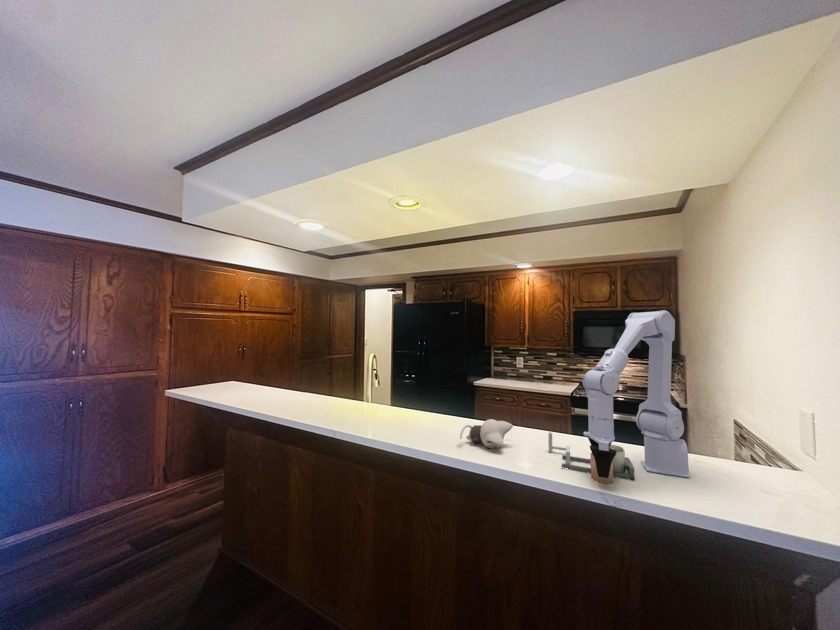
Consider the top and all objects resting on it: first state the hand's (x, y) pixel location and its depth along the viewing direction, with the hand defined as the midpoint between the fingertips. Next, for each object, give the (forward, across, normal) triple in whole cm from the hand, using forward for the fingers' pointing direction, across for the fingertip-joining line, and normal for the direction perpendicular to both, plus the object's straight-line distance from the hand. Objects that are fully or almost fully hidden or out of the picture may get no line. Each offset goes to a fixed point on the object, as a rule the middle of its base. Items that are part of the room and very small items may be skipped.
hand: (601, 471), depth 83 cm
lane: (+2, -8, -1) cm, 8 cm away
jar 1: (+2, 0, 0) cm, 2 cm away
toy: (+2, -12, -32) cm, 35 cm away
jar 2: (+2, -8, +4) cm, 9 cm away
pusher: (+2, -11, -10) cm, 15 cm away
